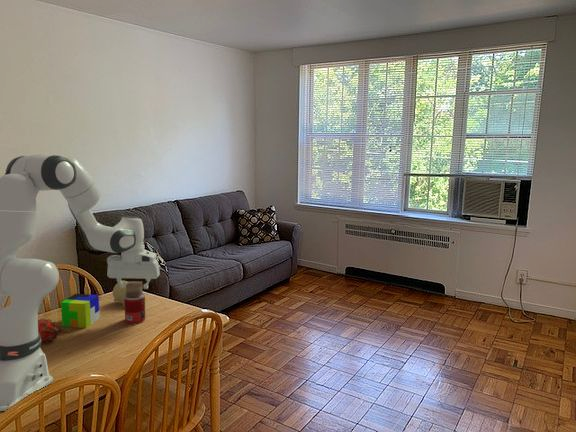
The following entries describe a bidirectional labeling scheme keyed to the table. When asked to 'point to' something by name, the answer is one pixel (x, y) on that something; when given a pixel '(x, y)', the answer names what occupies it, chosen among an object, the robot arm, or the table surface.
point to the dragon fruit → (47, 330)
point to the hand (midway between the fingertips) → (134, 288)
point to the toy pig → (119, 293)
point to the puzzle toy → (80, 310)
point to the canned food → (134, 309)
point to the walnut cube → (134, 289)
